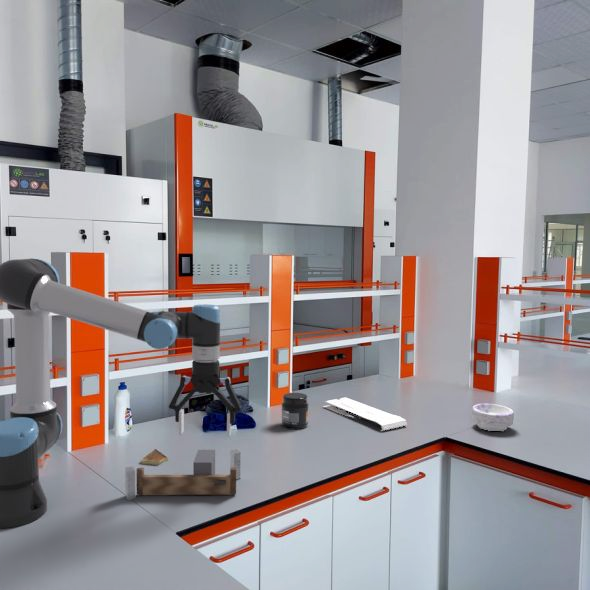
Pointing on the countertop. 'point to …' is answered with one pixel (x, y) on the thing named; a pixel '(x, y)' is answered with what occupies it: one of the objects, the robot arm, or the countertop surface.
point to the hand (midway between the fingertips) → (205, 434)
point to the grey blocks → (131, 474)
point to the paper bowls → (492, 416)
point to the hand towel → (366, 413)
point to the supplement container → (294, 410)
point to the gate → (186, 484)
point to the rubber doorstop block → (204, 463)
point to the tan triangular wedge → (154, 458)
